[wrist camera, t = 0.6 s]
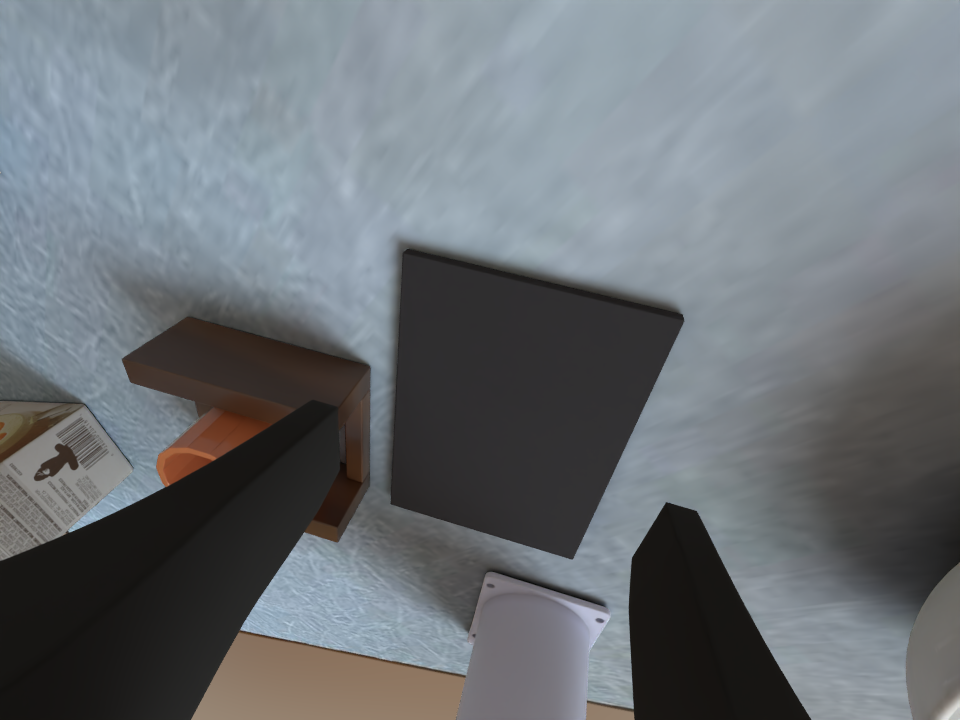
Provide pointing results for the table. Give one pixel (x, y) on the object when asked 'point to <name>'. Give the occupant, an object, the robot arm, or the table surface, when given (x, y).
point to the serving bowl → (936, 654)
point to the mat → (516, 398)
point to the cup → (205, 443)
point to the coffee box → (51, 471)
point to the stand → (265, 394)
